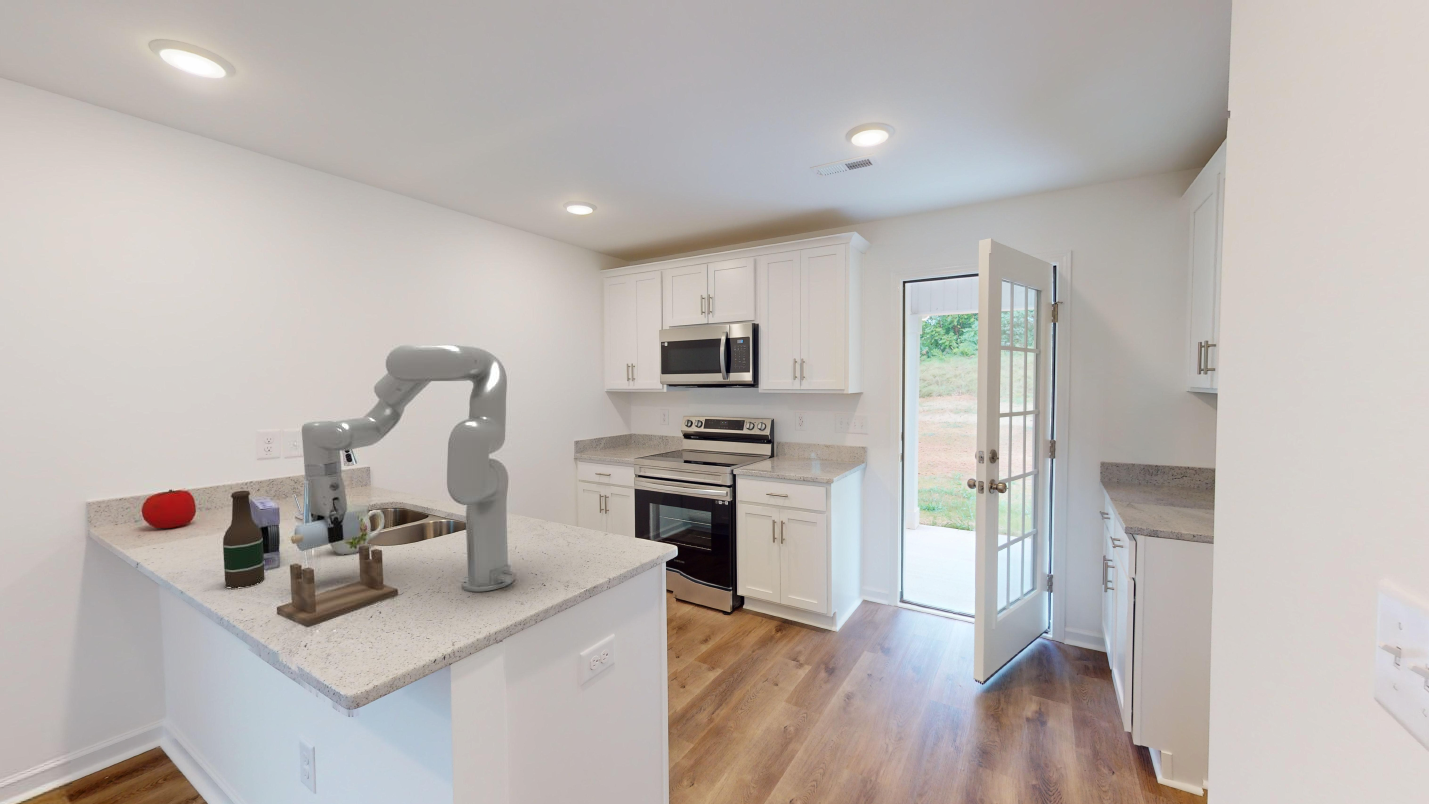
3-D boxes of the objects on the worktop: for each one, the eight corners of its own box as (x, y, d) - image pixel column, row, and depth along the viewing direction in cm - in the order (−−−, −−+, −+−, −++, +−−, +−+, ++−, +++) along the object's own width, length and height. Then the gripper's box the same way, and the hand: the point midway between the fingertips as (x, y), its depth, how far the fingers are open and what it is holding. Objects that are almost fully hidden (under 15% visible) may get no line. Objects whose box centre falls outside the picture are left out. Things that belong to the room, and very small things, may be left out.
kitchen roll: (366, 538, 143) (366, 514, 142) (299, 555, 130) (299, 529, 129) (353, 532, 146) (353, 509, 145) (287, 549, 133) (286, 524, 132)
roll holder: (398, 594, 131) (396, 550, 130) (307, 627, 114) (305, 575, 114) (366, 584, 138) (364, 541, 137) (277, 613, 121) (274, 565, 121)
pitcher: (393, 545, 170) (391, 502, 169) (327, 562, 155) (325, 514, 155) (376, 539, 176) (375, 498, 176) (311, 555, 161) (309, 509, 161)
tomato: (202, 525, 197) (200, 488, 197) (149, 535, 186) (146, 495, 185) (188, 519, 206) (186, 484, 205) (136, 528, 194) (134, 491, 193)
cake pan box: (283, 568, 151) (280, 505, 150) (260, 573, 147) (256, 509, 146) (271, 553, 164) (268, 495, 163) (249, 557, 160) (246, 498, 159)
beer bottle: (241, 578, 143) (236, 488, 142) (272, 577, 144) (267, 487, 143) (216, 590, 135) (211, 495, 134) (250, 588, 136) (244, 494, 135)
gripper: (357, 469, 136) (362, 539, 137) (322, 466, 144) (327, 532, 145) (324, 474, 129) (329, 548, 130) (289, 471, 138) (295, 540, 139)
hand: (328, 539), depth 138 cm, fingers closed on kitchen roll, 6 cm apart
